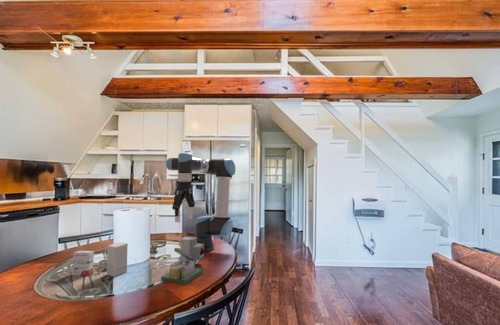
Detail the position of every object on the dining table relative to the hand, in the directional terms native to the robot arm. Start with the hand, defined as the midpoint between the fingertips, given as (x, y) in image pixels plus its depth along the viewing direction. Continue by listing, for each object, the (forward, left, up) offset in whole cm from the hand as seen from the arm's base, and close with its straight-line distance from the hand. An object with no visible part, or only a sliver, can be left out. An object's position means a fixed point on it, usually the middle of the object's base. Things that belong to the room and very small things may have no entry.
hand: (183, 220), depth 158 cm
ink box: (+22, -47, -28) cm, 59 cm away
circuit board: (+6, +4, -28) cm, 29 cm away
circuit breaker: (-14, -2, -28) cm, 32 cm away
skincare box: (+15, -31, -28) cm, 45 cm away
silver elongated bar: (+5, +4, -18) cm, 19 cm away
